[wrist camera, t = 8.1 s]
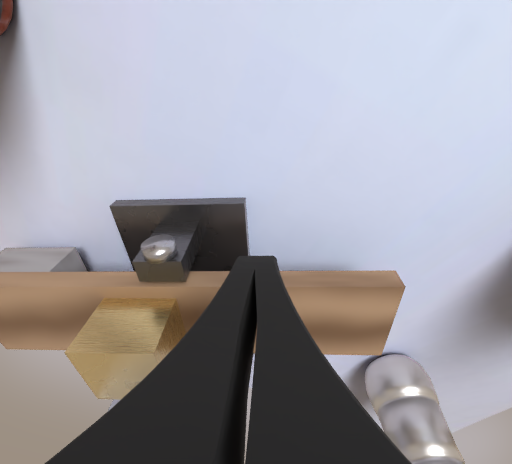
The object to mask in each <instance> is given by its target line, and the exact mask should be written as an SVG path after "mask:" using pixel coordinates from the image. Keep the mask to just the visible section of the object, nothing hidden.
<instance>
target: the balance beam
mask: <svg viewBox="0 0 512 464" xmlns="http://www.w3.org/2000/svg"><path fill="white" fill-rule="evenodd" d="M229 272H230V271H190V272H189V275H188V277H187V280H186V282H140V281H139V279H138V276H137V273H136V272H88V271H87V269H86V267H85V265H84V263H83V261H82V259H81V257H80V255H79V254H78V252H77V250H76V248H75V247H57V248H5V249H4V250H2V251H1V252H0V343H1V344H2V345H3V346H4V347H5V348H6V349H30V350H33V349H34V350H67V349H68V347H69V346H70V344H71V343H72V342H73V340H74V339H75V337H76V336H77V335H78V333H79V332H80V330H81V329H82V328H83V326H84V325H85V323H86V322H87V321H88V319H89V318H90V317H91V315H92V314H93V312H94V311H95V310H96V308H97V307H98V305H99V304H100V303H101V301H102V300H103V298H176V300H177V303H178V307H179V310H180V314H181V317H182V320H183V324H184V327H185V331H186V333H187V332H188V331H189V330H190V328H191V327H192V326H193V325H194V323H195V322H196V321H197V320H198V318H199V317H200V316H201V314H202V313H203V312H204V310H205V309H206V308H207V306H208V305H209V304H210V302H211V301H212V299H213V298H214V296H215V295H216V293H217V292H218V290H219V289H220V287H221V286H222V284H223V283H224V281H225V279H226V278H227V276H228V274H229ZM280 274H281V277H282V280H283V282H284V285H285V287H286V290H287V292H288V294H289V296H290V298H291V300H292V302H293V304H294V306H295V308H296V310H297V312H298V314H299V316H300V317H301V319H302V321H303V323H304V325H305V326H306V328H307V330H308V331H309V333H310V335H311V336H312V338H313V339H314V341H315V343H316V344H317V346H318V347H319V349H320V350H321V352H322V353H323V354H331V355H381V354H382V352H383V349H384V346H385V343H386V340H387V338H388V335H389V332H390V329H391V326H392V323H393V321H394V318H395V315H396V312H397V309H398V306H399V304H400V301H401V298H402V295H403V292H404V290H405V285H404V284H403V282H402V281H401V279H400V277H399V276H398V274H397V272H396V271H280ZM256 335H257V329H256ZM255 349H256V336H255V344H254V351H253V353H255Z"/></svg>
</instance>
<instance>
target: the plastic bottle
mask: <svg viewBox="0 0 512 464" xmlns="http://www.w3.org/2000/svg"><path fill="white" fill-rule="evenodd" d="M364 378H365V385H366V392H367V395H368V397H369V399H370V402H371V404H372V406H373V408H374V410H375V412H376V414H377V416H378V417H379V420H380V423H381V425H382V428H383V430H384V433H385V434H386V435H387V436H388V437H389V439H390V440H391V441H392V442H393V443H394V444H395V445H396V447H397V448H398V449H399V450H400V451H401V452H402V453H403V454H404V456H405V457H406V458H407V459H408V460H409V461H410V462H411V463H412V464H465V462H464V459H463V457H462V455H461V453H460V452H459V450H458V448H457V446H456V444H455V441H454V439H453V437H452V434H451V432H450V430H449V427H448V425H447V422H446V420H445V418H444V415H443V413H442V411H441V408H440V406H439V401H438V398H437V395H436V392H435V389H434V386H433V384H432V381H431V378H430V377H429V376H428V374H427V373H426V372H425V370H424V369H423V367H422V366H421V365H420V364H419V363H418V362H416V361H415V360H413V359H412V358H410V357H408V356H405V355H399V354H393V355H386V356H382V357H380V358H377V359H376V360H374V361H372V362H371V363H370V364H369V365H368V367H367V369H366V372H365V376H364Z"/></svg>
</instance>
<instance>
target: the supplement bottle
mask: <svg viewBox="0 0 512 464" xmlns="http://www.w3.org/2000/svg"><path fill="white" fill-rule="evenodd" d="M12 13H13V0H0V35H1V34H2V33H3V32H4V31H5V30H6V29H7V27H8V25H9V23H10V21H11V19H12Z"/></svg>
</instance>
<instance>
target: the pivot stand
mask: <svg viewBox="0 0 512 464" xmlns="http://www.w3.org/2000/svg"><path fill="white" fill-rule="evenodd" d="M110 209H111V211H112V214H113V217H114V219H115V222H116V224H117V227H118V230H119V232H120V235H121V238H122V240H123V243H124V245H125V248H126V251H127V253H128V256H129V259H130V261H131V264H132V266H133V269H134V272H136V273H137V276H138V279H139V281H140V282H186V280H187V277H188V275H189V272H190V271H231V269H232V267H233V265H234V263H235V261H236V259H237V258H238V257H239V256H250V254H249V240H248V226H247V212H246V198H206V199H160V200H116V201H115V202H114V203H113V204H112V205H110Z"/></svg>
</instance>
